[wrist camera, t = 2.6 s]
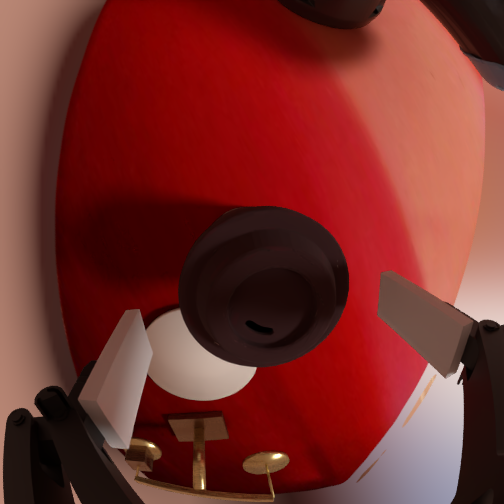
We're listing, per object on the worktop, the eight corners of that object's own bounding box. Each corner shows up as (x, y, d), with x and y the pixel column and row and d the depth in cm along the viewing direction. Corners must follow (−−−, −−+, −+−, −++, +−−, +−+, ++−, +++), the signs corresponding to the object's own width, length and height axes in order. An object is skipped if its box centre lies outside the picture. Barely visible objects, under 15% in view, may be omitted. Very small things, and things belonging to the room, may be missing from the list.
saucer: (128, 309, 28) (125, 315, 27) (250, 295, 29) (252, 301, 28) (160, 396, 32) (159, 402, 31) (261, 387, 33) (262, 393, 32)
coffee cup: (264, 175, 26) (320, 174, 12) (306, 258, 29) (380, 330, 15) (177, 224, 26) (134, 280, 12) (226, 303, 29) (238, 406, 15)
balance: (122, 413, 32) (102, 490, 18) (275, 403, 35) (300, 487, 20) (135, 435, 34) (123, 506, 20) (277, 425, 36) (298, 502, 22)
